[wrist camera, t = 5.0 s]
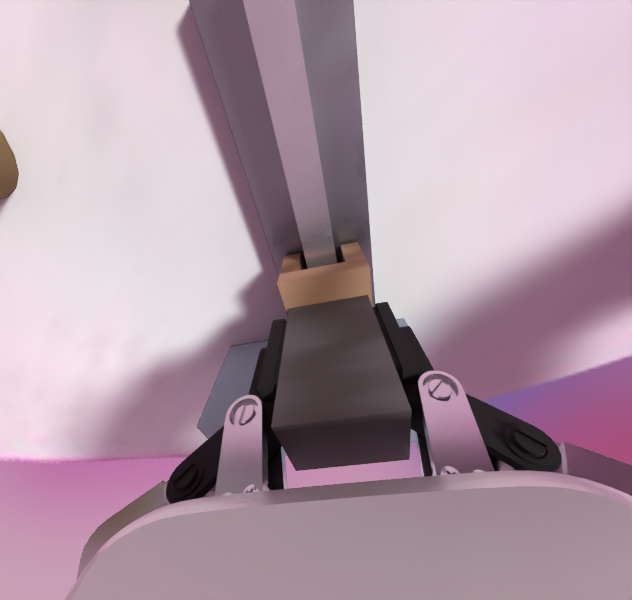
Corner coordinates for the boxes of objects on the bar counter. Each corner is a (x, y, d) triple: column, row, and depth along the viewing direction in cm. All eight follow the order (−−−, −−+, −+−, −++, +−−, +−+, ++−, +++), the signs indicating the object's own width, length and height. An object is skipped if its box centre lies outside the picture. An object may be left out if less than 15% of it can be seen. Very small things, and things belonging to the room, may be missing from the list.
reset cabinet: (403, 318, 19) (445, 395, 13) (403, 360, 21) (437, 439, 16) (230, 346, 20) (196, 426, 14) (250, 381, 23) (228, 461, 17)
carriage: (357, 241, 13) (421, 373, 5) (365, 321, 17) (414, 476, 9) (284, 256, 14) (245, 397, 6) (306, 330, 17) (300, 487, 9)
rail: (341, -57, 9) (356, -161, 6) (373, 323, 19) (384, 355, 16) (195, -10, 9) (142, -83, 6) (302, 334, 20) (300, 367, 17)
